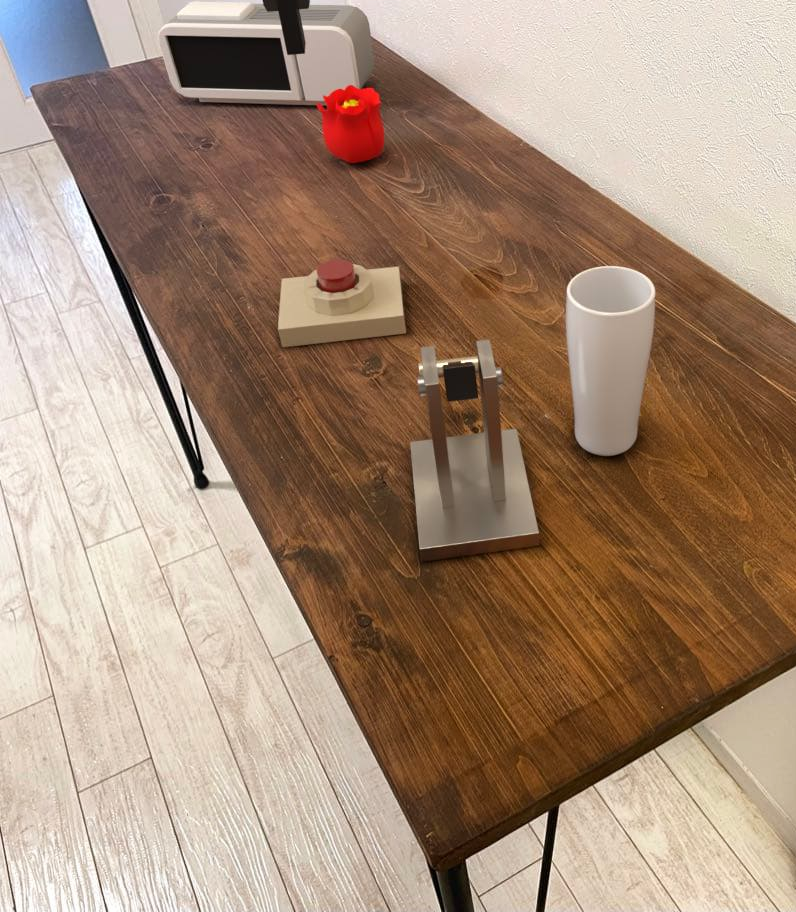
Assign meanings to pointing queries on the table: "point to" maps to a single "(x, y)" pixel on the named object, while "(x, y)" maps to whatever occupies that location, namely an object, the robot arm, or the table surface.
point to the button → (336, 276)
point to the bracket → (470, 475)
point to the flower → (353, 124)
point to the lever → (458, 377)
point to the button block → (341, 308)
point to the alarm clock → (264, 53)
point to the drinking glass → (608, 354)
